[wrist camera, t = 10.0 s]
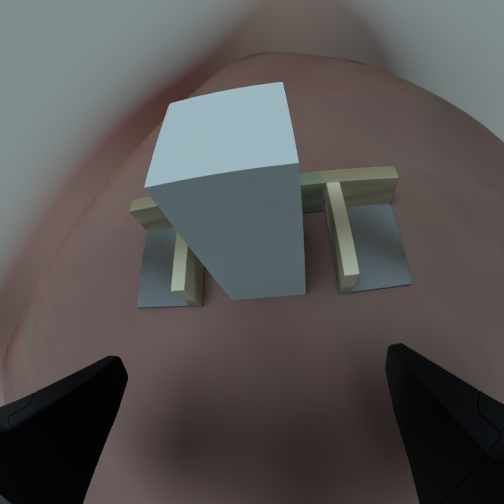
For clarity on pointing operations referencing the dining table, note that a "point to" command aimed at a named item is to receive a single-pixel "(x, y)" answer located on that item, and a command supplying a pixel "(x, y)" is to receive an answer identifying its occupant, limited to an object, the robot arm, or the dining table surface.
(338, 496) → the dining table surface
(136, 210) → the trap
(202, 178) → the grey block
